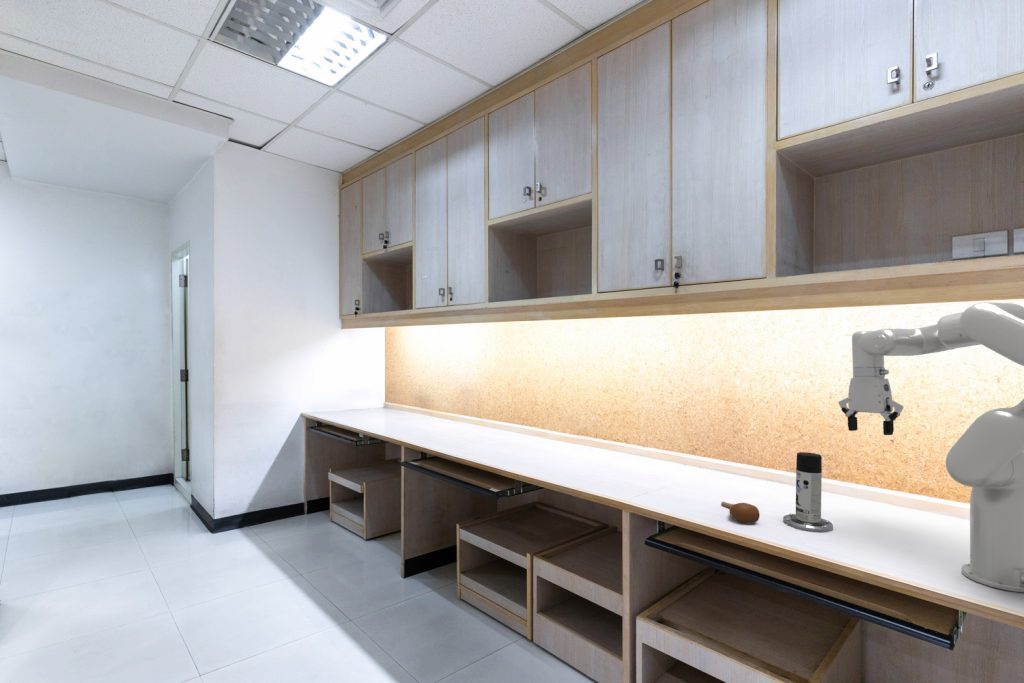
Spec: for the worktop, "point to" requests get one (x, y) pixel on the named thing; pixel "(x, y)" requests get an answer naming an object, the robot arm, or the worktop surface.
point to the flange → (808, 524)
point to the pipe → (743, 512)
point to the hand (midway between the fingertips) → (870, 432)
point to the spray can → (808, 487)
